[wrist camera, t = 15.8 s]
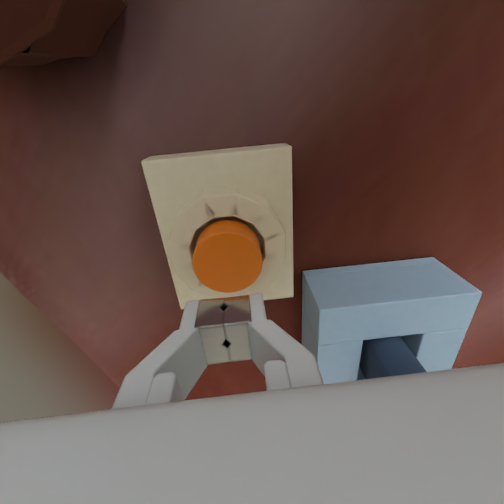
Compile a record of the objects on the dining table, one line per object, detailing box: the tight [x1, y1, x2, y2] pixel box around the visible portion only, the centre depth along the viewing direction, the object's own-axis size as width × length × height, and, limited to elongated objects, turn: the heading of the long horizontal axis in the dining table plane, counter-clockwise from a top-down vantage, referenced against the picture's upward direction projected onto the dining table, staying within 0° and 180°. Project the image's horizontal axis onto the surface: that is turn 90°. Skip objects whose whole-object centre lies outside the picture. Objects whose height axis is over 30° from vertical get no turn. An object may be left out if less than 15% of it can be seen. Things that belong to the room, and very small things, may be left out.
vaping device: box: [359, 336, 427, 379], centre depth 16 cm, size 3×5×12 cm, turn 9°
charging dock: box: [302, 257, 482, 384], centre depth 20 cm, size 12×10×5 cm
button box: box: [141, 143, 294, 309], centre depth 16 cm, size 10×8×4 cm
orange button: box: [192, 220, 263, 293], centre depth 14 cm, size 4×4×2 cm
